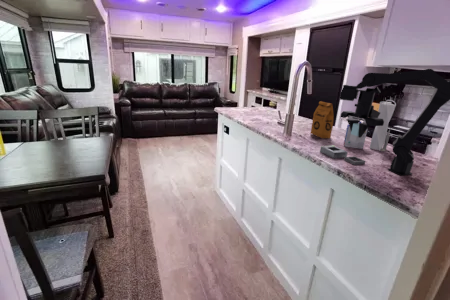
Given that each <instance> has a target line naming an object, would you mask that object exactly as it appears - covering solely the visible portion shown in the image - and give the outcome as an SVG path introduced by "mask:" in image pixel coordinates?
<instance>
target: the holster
mask: <svg viewBox="0 0 450 300" xmlns="http://www.w3.org/2000/svg"><path fill="white" fill-rule="evenodd" d="M343 159H344V161H345V162H348V163H349V162H350V163H349V164H351V165H354V166H359V165H365V164H366V160H364V159H362V158H360V157H357V156H356V155H354V156H347V157H344V158H343Z"/></svg>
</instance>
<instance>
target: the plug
mask: <svg viewBox="0 0 450 300" xmlns="http://www.w3.org/2000/svg"><path fill="white" fill-rule="evenodd" d="M358 134H359V123H353V127H352V131H351V135H350V139H349V140H351V141H353V142H361V141H362V137H363V135H362V137H361V138H359V135H358Z"/></svg>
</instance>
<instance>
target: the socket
mask: <svg viewBox="0 0 450 300" xmlns="http://www.w3.org/2000/svg"><path fill="white" fill-rule="evenodd" d="M319 152H320V153H322V154H324V155H326V156H327V157H330V158H331V157H332V158H331V159H345V157H348V151H347V150H345V149H343V148H340V147H338V146H336V145H332V144H331V145H321V146H320V148H319Z"/></svg>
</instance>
